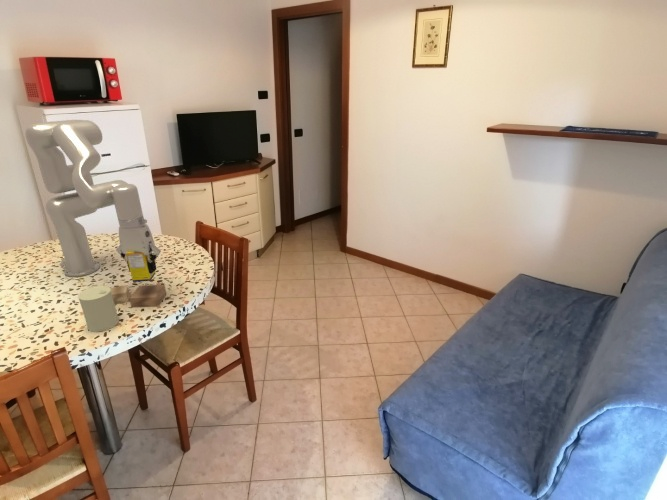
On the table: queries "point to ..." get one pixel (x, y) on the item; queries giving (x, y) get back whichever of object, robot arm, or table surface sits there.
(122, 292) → the oak brick
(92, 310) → the can
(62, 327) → the table surface
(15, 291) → the table surface
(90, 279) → the table surface
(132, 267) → the supplement box
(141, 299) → the base brick
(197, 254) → the table surface
